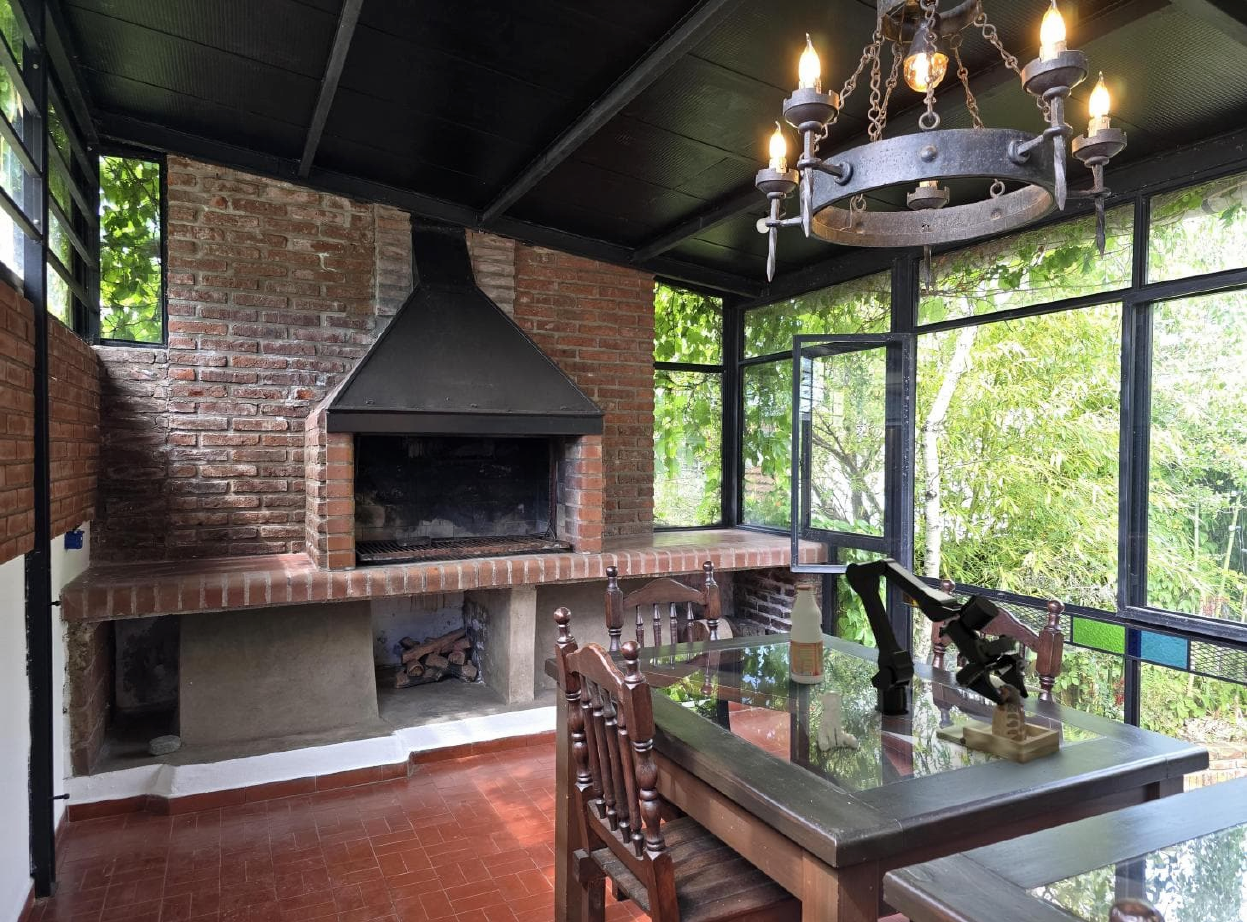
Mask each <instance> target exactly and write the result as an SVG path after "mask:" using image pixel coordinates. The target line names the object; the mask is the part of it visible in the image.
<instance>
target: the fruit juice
mask: <svg viewBox="0 0 1247 922" xmlns="http://www.w3.org/2000/svg"><path fill="white" fill-rule="evenodd" d="M814 591H815V589H814V585H813V584H812V585H811V584H799V585H796V592H797V596H796V599H795V601H794V602H795V603H794V605H793V606H792V608H791V610H790V612H789V613H790V617H789V618H790V622H791V629H790V634H789V635H790V636H789V637H790V666H791V668H790V673H791V675H790V676H791V680H792V681H793V682H794V683H798V684H805V685H815V684H820V683H823V682H824V678H825V670H824V668H825V666H824V664H825V663H824V635H823V633H824V632H823V629H822V628H821V624H822V619H823V616H822V611H821V610H820V608H819V606H818V604H817V601H816V599H815V595H814V594H813V593H814Z"/></svg>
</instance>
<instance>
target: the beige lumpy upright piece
mask: <svg viewBox="0 0 1247 922" xmlns="http://www.w3.org/2000/svg"><path fill="white" fill-rule="evenodd" d="M842 694H843V693H838V692H837V691H834V690H832V689H831V690H826V691H824V693H823V694H822V693H817V694H816V695H817V698H818V699H819V700H821V705H822V708H824V710H823V711H822V713H821V715H820V720H819V721H820V722H819V724H818V727H817V732H816V734H817V735H816V736H817V739H818V740H817V741H818V743H817V744H818V747H819V749H820V750H821V751H824V752H827V751H828V750H829V749H833V748H836V747H839V748H841V747H842V748H843V747H850V748H852V749H857V748H858V747H859V744H860V743H859V742H860V741H859V740H858V739H857V738H856V737H855V736H854V734H852V733H847V732H845V731H844V729H843V728H842V726H843V725H842V722H843V720H842V717H841V715H840V709H841V707H842V706H843V703H842Z"/></svg>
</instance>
